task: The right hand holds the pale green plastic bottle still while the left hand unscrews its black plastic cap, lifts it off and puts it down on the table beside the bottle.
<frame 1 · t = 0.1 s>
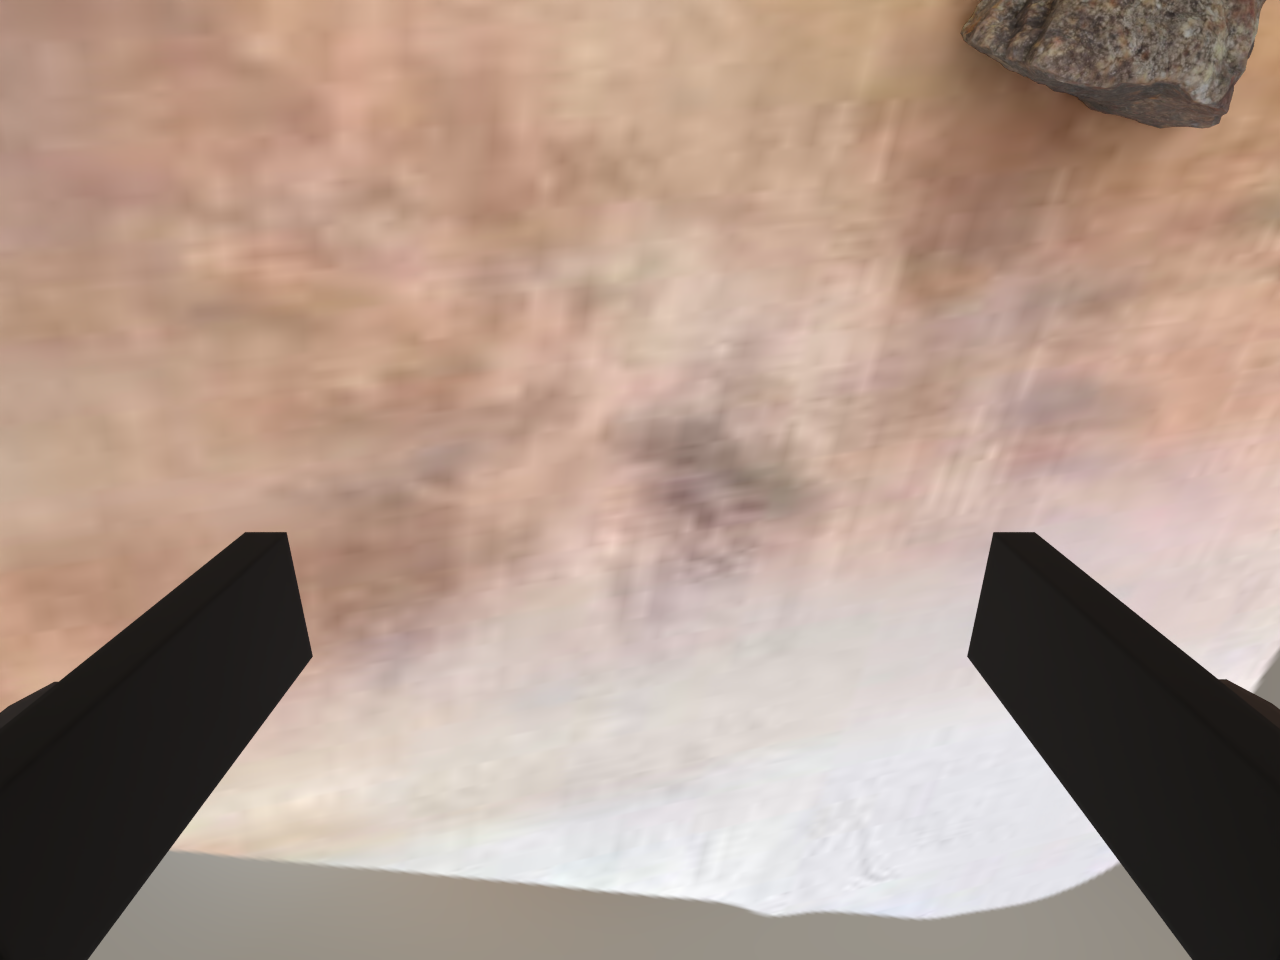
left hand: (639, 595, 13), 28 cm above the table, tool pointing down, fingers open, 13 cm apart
rock: (1099, 31, 33), on the table
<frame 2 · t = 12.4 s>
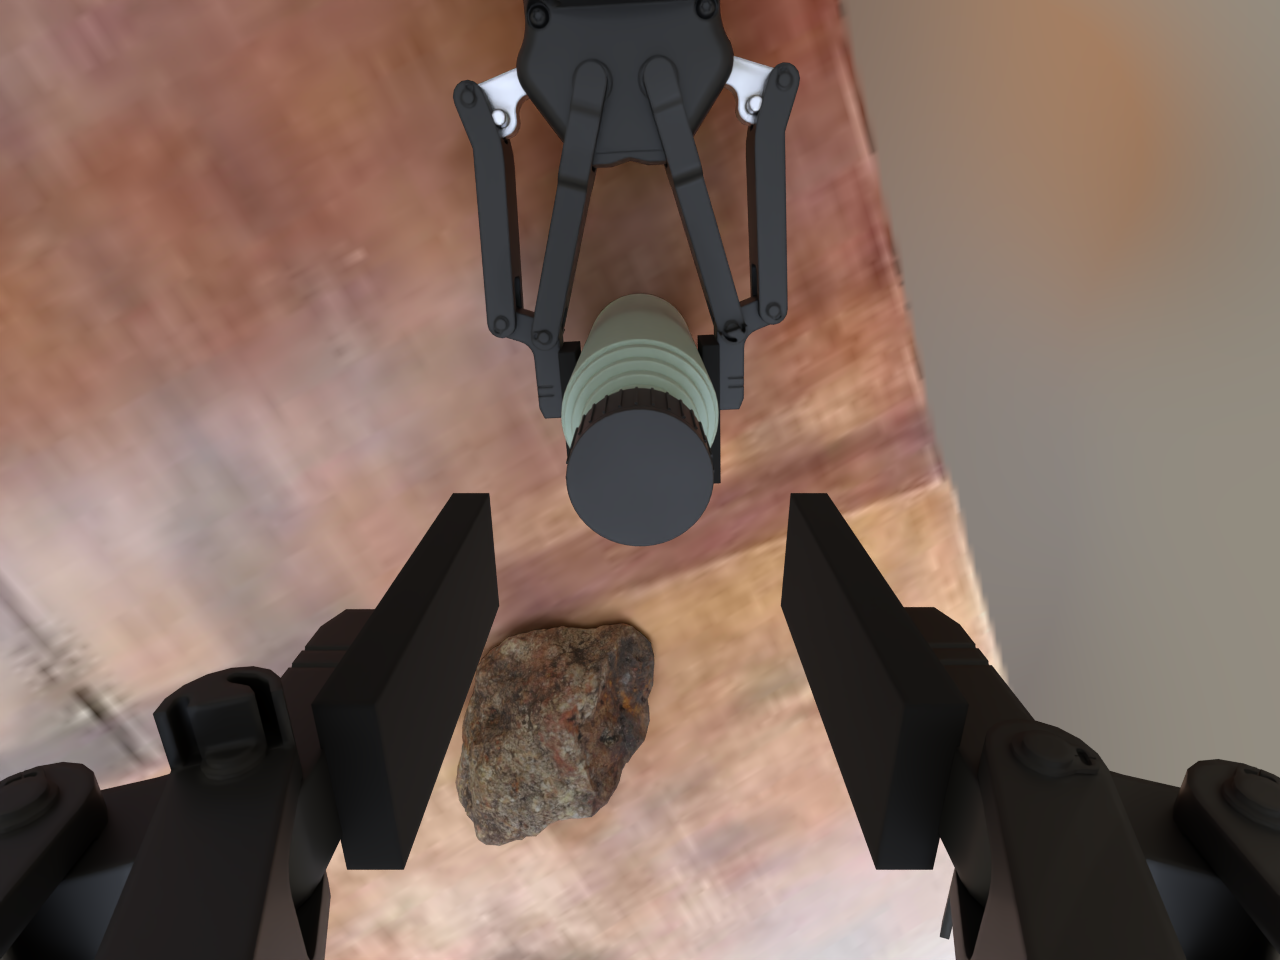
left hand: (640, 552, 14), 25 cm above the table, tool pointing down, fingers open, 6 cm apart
right hand: (645, 475, 33), fingers closed on bottle, 6 cm apart
bottle: (639, 345, 37), on the table, touching right hand
rock: (554, 683, 46), on the table
cap: (640, 476, 19), point 20 cm above the table, screwed on, not yet turned
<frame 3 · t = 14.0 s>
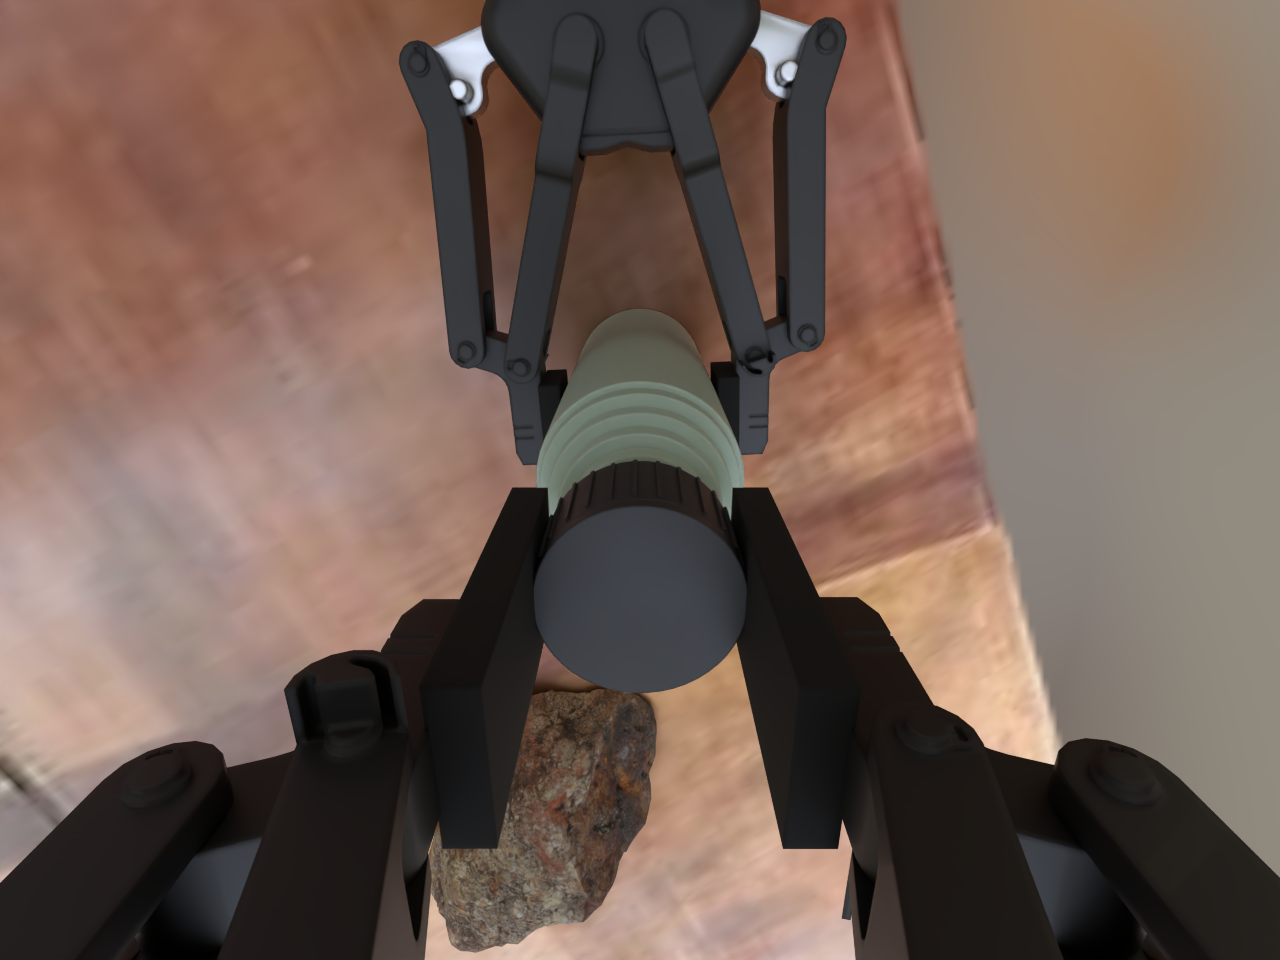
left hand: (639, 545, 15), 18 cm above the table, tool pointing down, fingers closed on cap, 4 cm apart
right hand: (646, 531, 27), fingers closed on bottle, 6 cm apart
bottle: (640, 369, 32), on the table, touching right hand
rock: (542, 752, 40), on the table
cap: (640, 596, 13), point 20 cm above the table, screwed on, not yet turned, touching left hand
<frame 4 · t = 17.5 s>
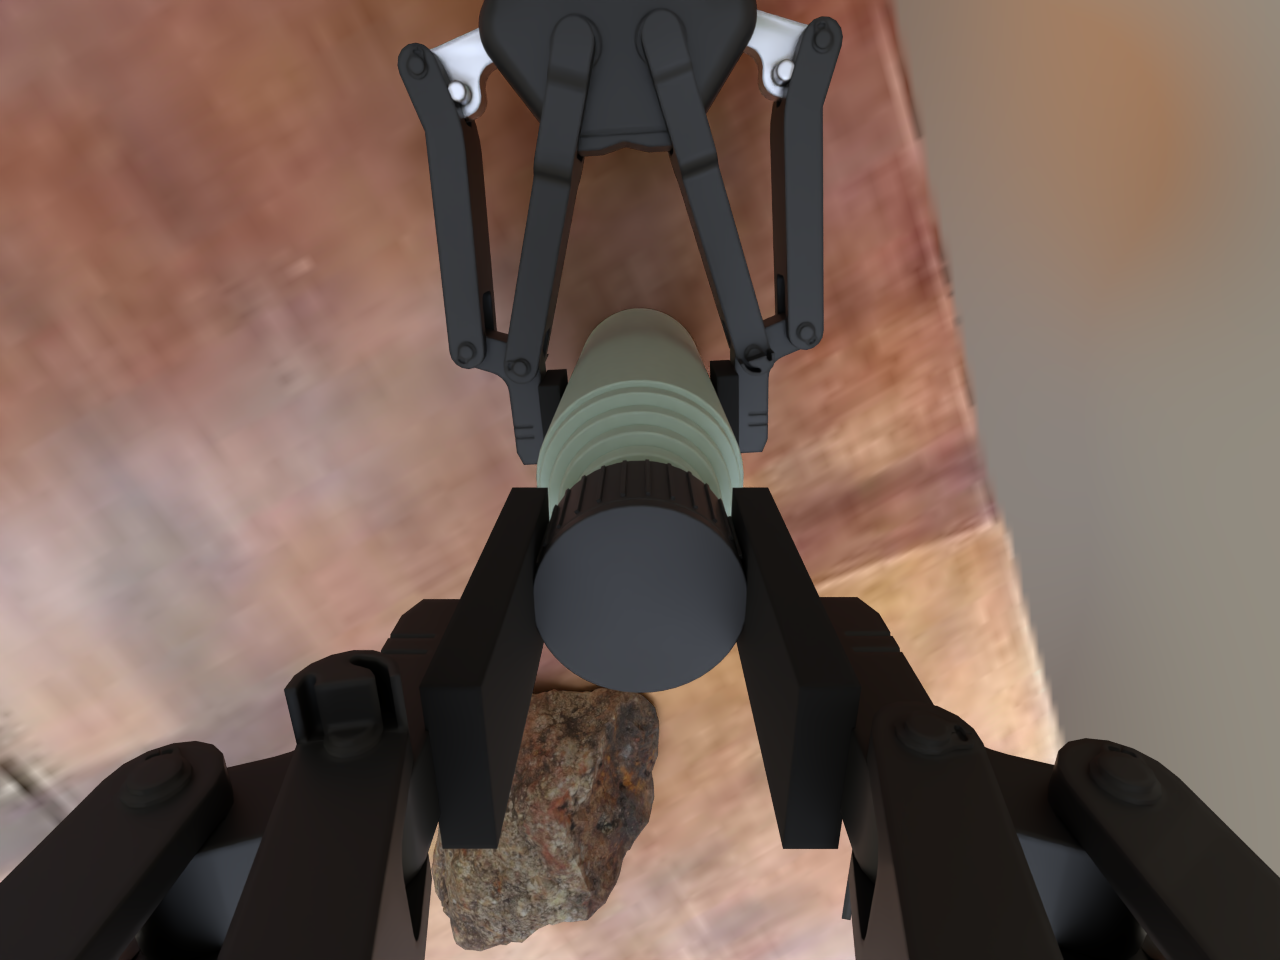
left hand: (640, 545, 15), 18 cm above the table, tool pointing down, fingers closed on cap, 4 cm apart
right hand: (647, 529, 27), fingers closed on bottle, 6 cm apart
bottle: (639, 369, 32), on the table, touching right hand
rock: (545, 751, 40), on the table
cap: (640, 596, 13), point 20 cm above the table, turned 121° so far, risen 0.1 cm, still on its thread, touching left hand
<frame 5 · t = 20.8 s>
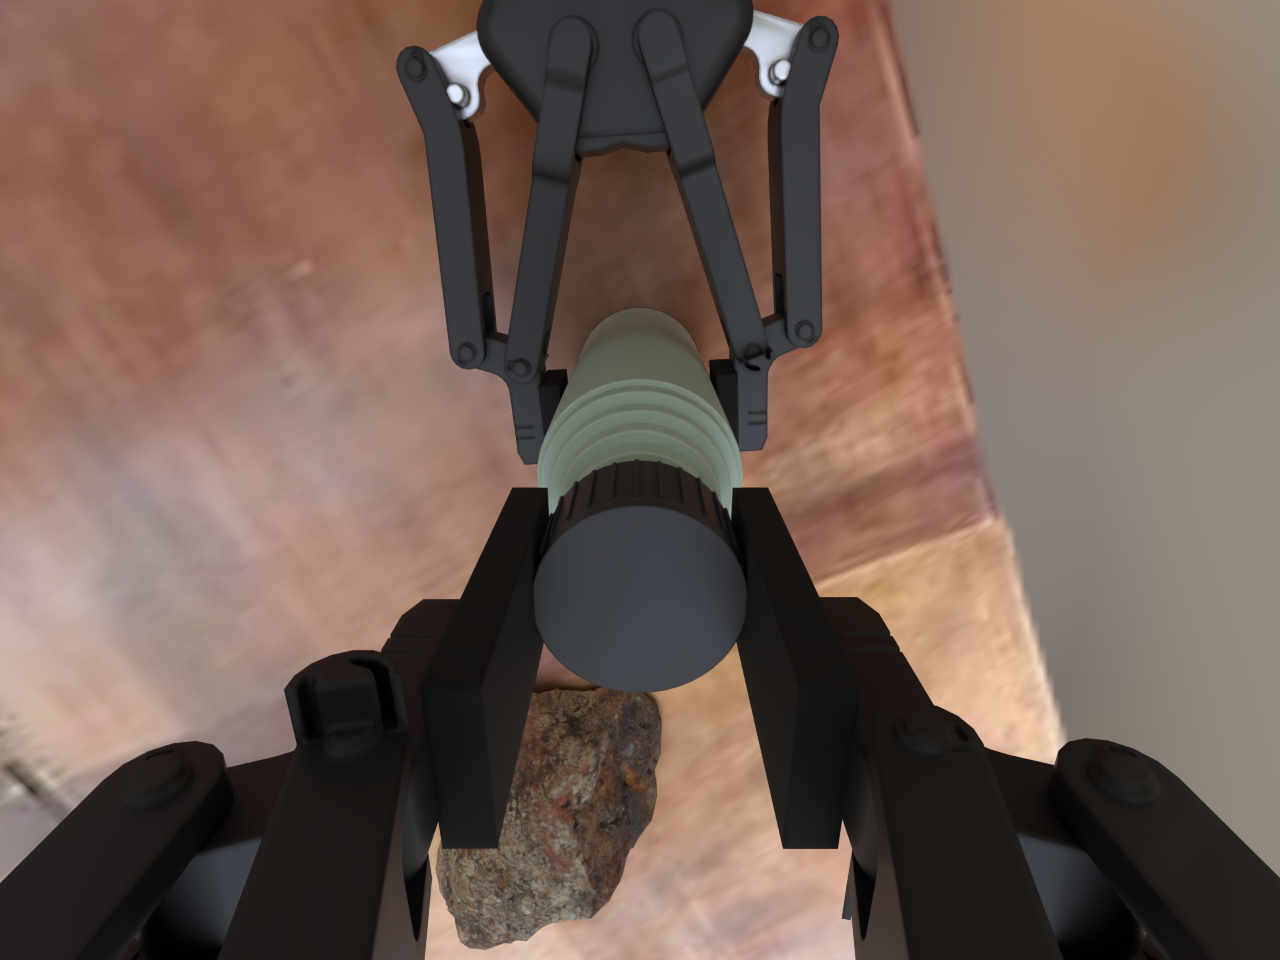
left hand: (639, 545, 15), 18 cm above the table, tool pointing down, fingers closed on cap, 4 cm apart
right hand: (648, 528, 27), fingers closed on bottle, 6 cm apart
bottle: (639, 368, 32), on the table, touching right hand
rock: (548, 750, 40), on the table
cap: (639, 596, 13), point 20 cm above the table, turned 242° so far, risen 0.2 cm, still on its thread, touching left hand
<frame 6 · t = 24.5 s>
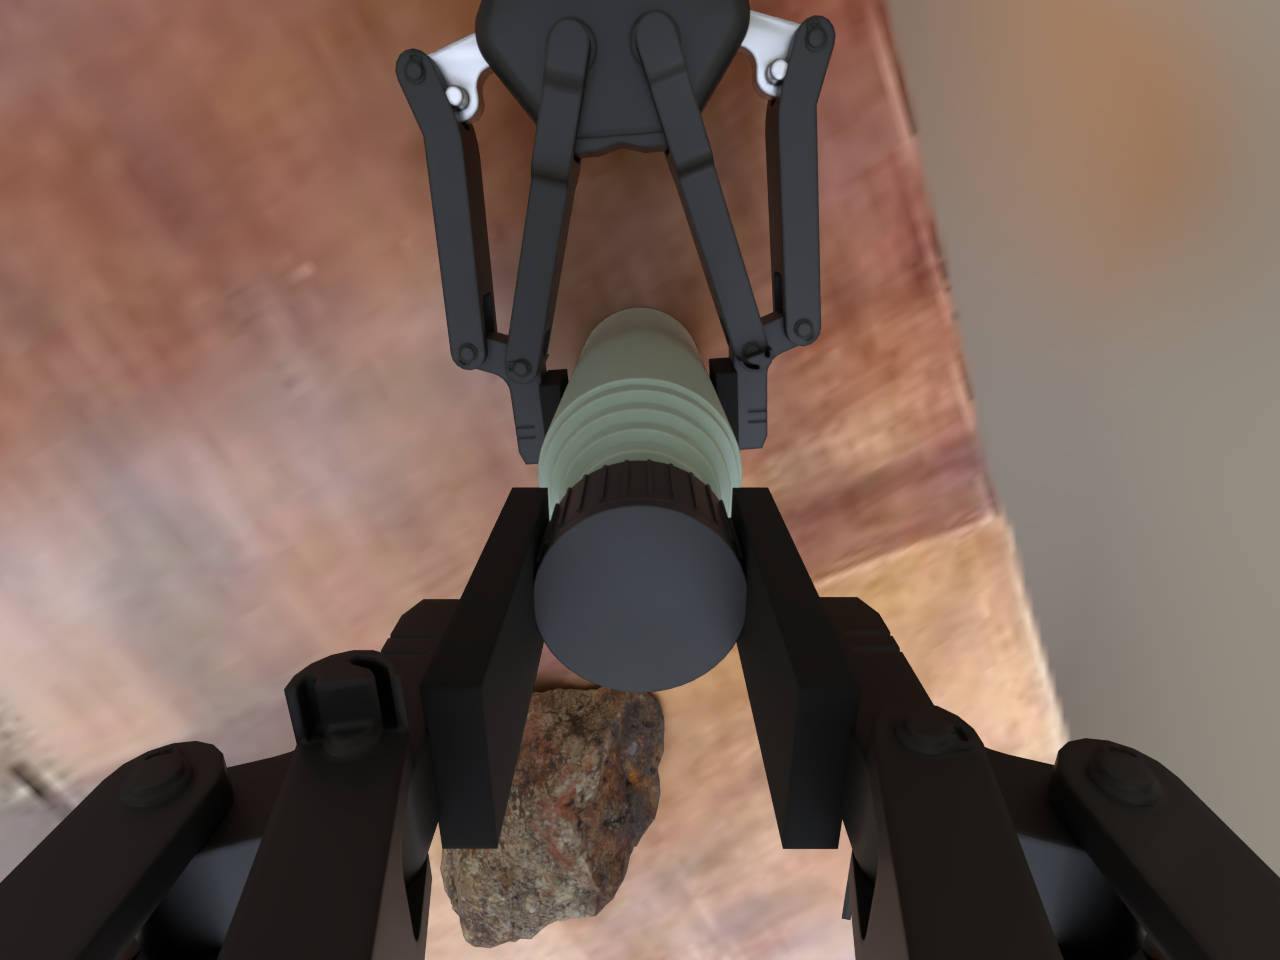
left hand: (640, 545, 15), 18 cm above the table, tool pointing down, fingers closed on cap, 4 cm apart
right hand: (649, 527, 28), fingers closed on bottle, 6 cm apart
bottle: (640, 368, 32), on the table, touching right hand
rock: (551, 749, 40), on the table
cap: (640, 596, 13), point 20 cm above the table, turned 364° so far, risen 0.3 cm, still on its thread, touching left hand
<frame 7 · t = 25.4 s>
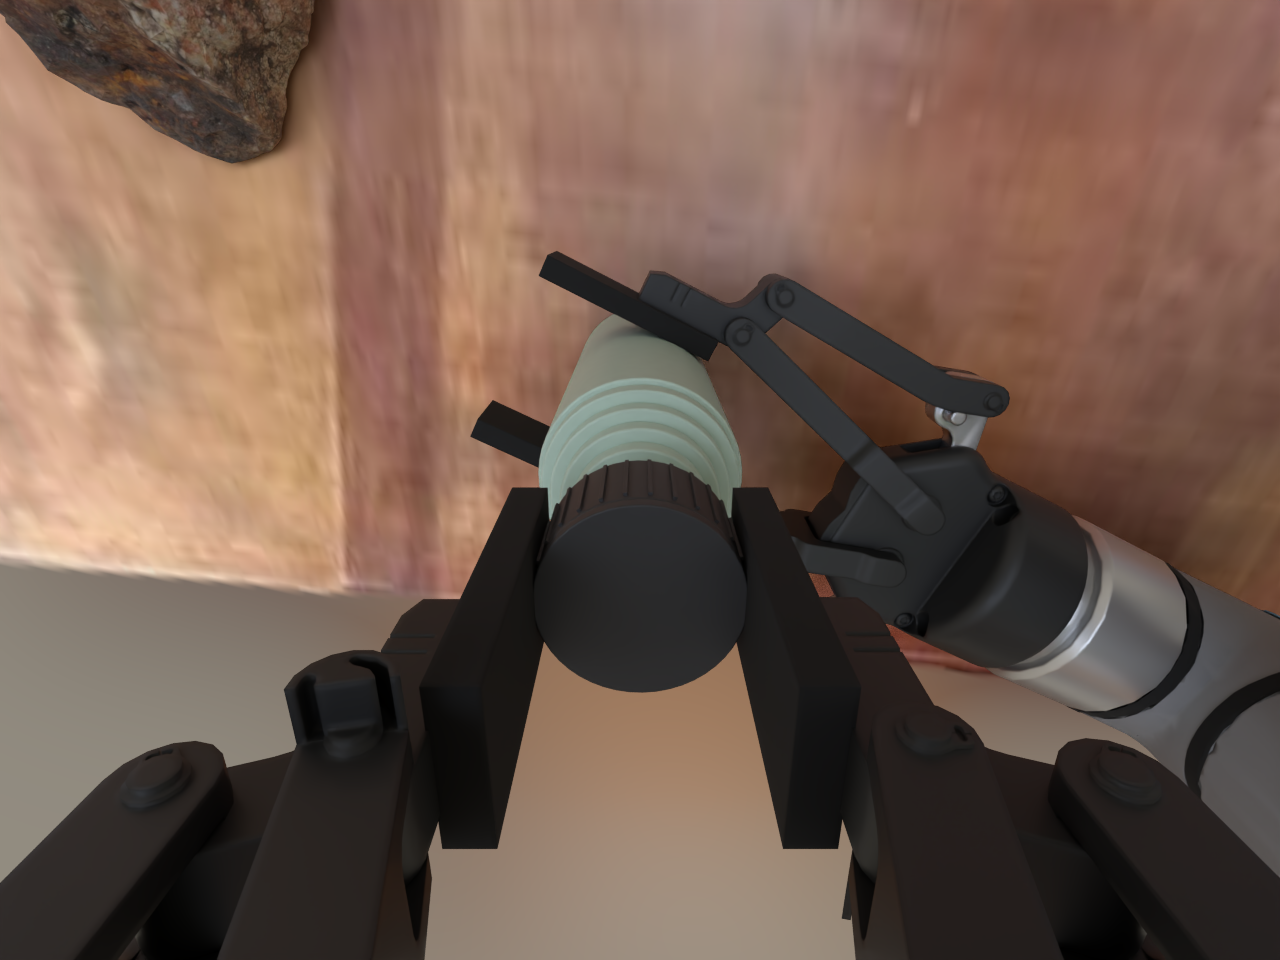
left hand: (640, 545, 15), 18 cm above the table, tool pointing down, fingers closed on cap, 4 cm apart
right hand: (514, 344, 25), fingers closed on bottle, 6 cm apart
bottle: (640, 368, 32), on the table, touching right hand
cap: (640, 596, 13), point 21 cm above the table, off its thread, touching left hand
when the left hand's fingers open (1 cm above the table, at t = 31.0 s): cap drops 1 cm, point 2 cm above the table.
when the right hand's fingers open (7 cm above the table, at t = 32.2 s): bottle stays where it is, on the table.
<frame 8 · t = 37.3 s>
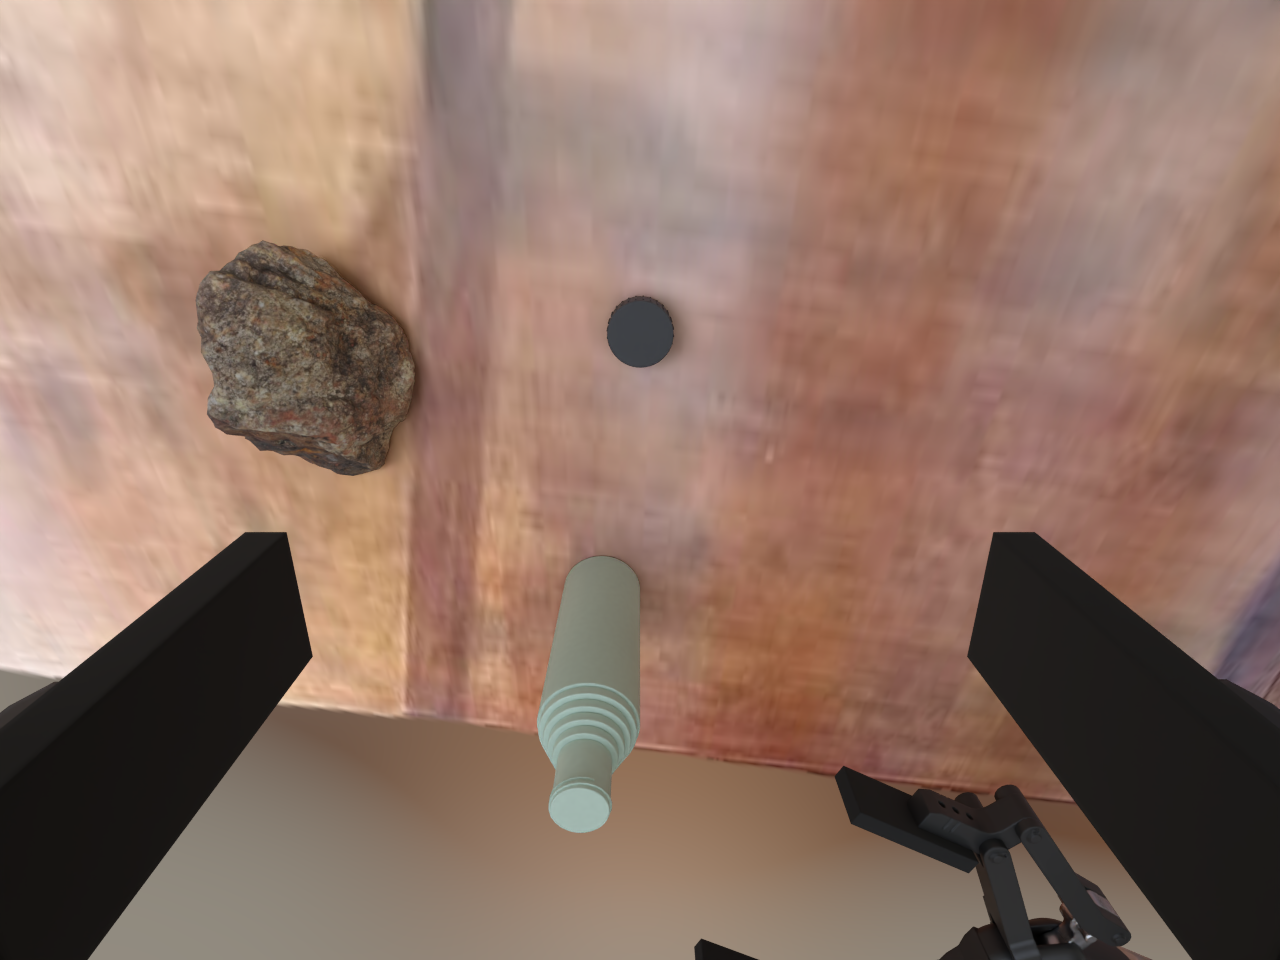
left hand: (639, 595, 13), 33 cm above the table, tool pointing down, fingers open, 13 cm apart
right hand: (767, 886, 33), fingers open, 13 cm apart
bottle: (602, 589, 50), on the table
rock: (342, 367, 44), on the table
cap: (640, 333, 41), point 2 cm above the table, off its thread
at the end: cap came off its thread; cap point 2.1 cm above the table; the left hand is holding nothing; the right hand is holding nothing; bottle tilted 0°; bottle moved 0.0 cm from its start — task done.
